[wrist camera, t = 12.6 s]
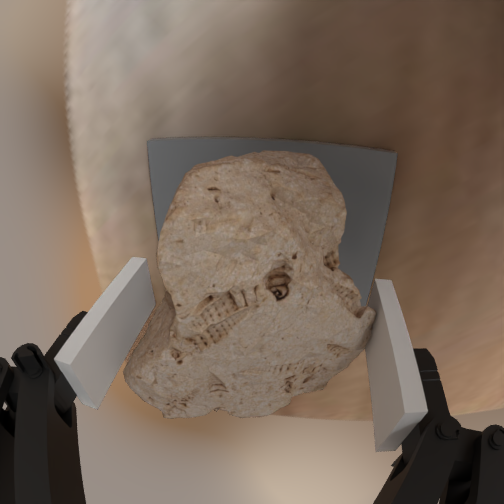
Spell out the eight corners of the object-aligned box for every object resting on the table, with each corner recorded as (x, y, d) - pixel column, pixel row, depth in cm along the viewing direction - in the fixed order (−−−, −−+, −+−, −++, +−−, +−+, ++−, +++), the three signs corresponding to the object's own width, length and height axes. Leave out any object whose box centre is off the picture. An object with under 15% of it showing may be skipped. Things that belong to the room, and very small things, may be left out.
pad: (152, 138, 15) (147, 140, 14) (394, 150, 13) (397, 153, 13) (176, 317, 21) (173, 323, 21) (353, 336, 20) (354, 342, 19)
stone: (138, 331, 15) (112, 408, 11) (217, 110, 10) (194, 127, 6) (290, 377, 17) (298, 452, 13) (414, 210, 12) (478, 272, 8)
